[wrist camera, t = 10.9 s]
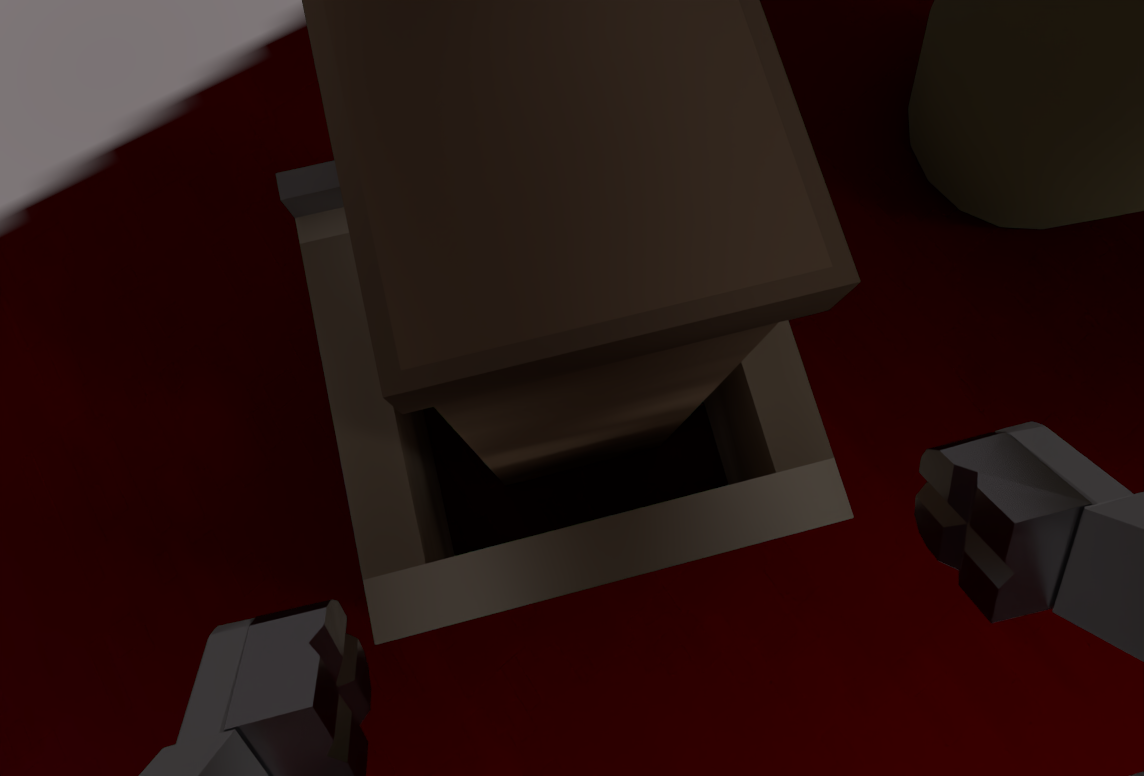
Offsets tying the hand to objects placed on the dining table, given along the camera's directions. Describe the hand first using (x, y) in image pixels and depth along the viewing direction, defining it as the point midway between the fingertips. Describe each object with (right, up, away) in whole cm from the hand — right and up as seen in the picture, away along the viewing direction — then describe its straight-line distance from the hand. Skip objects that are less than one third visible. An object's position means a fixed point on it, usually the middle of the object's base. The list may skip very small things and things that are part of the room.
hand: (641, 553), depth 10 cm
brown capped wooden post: (-1, +2, +9) cm, 9 cm away
